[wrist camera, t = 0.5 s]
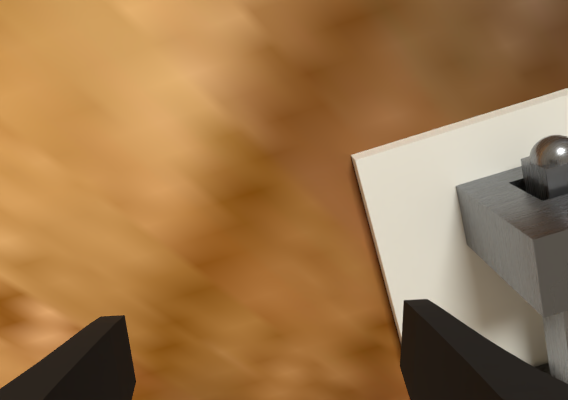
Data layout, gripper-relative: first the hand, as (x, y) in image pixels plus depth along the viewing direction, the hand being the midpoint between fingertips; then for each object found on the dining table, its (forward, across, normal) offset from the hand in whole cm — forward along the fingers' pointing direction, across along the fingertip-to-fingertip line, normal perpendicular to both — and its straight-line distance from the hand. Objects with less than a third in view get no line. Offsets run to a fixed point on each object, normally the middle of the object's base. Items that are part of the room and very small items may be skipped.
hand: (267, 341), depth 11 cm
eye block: (+9, -12, 0) cm, 15 cm away
